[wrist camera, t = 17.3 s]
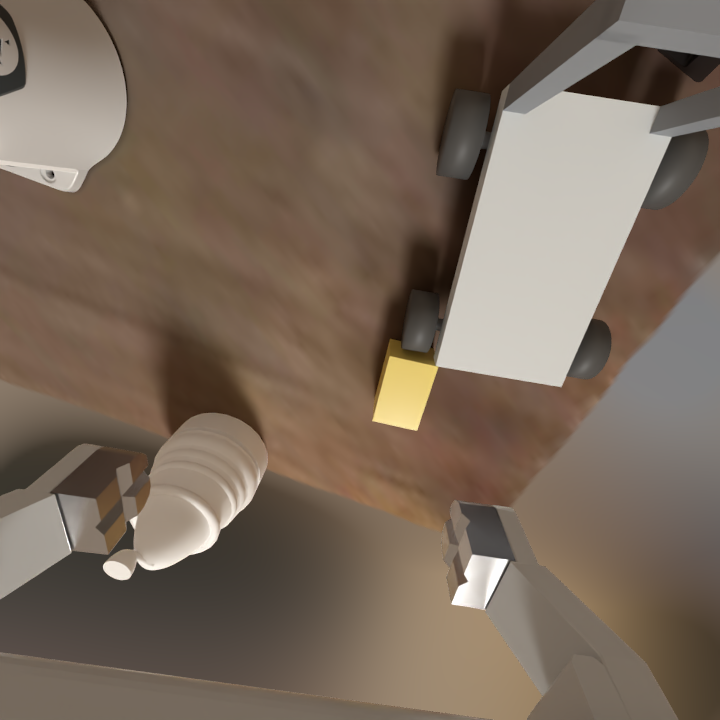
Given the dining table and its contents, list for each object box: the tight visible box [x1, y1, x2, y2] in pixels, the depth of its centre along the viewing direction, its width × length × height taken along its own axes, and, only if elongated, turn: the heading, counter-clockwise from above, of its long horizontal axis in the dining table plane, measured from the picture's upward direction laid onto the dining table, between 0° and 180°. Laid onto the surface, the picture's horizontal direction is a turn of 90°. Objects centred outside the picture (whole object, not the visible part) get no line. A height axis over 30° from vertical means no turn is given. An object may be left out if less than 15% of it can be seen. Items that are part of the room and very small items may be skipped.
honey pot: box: [103, 413, 268, 580], centre depth 41 cm, size 13×13×18 cm
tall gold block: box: [373, 339, 438, 431], centre depth 40 cm, size 5×8×5 cm, turn 169°
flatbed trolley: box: [401, 0, 720, 387], centre depth 26 cm, size 22×18×21 cm
